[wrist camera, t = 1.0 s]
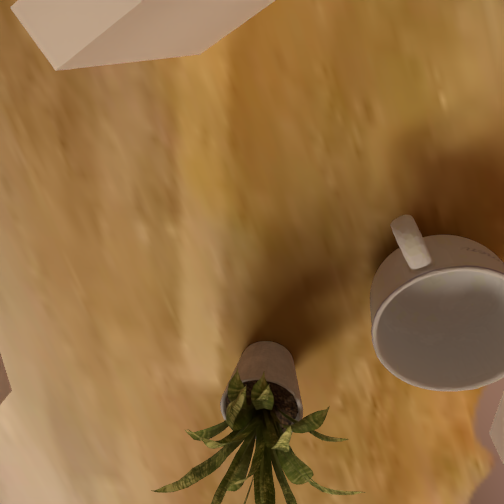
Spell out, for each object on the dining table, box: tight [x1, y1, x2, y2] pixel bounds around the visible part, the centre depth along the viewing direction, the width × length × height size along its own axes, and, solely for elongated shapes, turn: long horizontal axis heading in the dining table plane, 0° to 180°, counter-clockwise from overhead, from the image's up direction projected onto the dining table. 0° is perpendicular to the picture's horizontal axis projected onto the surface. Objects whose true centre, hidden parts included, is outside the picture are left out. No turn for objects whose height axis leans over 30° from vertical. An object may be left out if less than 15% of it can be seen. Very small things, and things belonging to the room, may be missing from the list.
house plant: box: [151, 341, 366, 504], centre depth 35 cm, size 14×14×16 cm
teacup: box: [370, 215, 504, 391], centre depth 33 cm, size 14×11×8 cm
